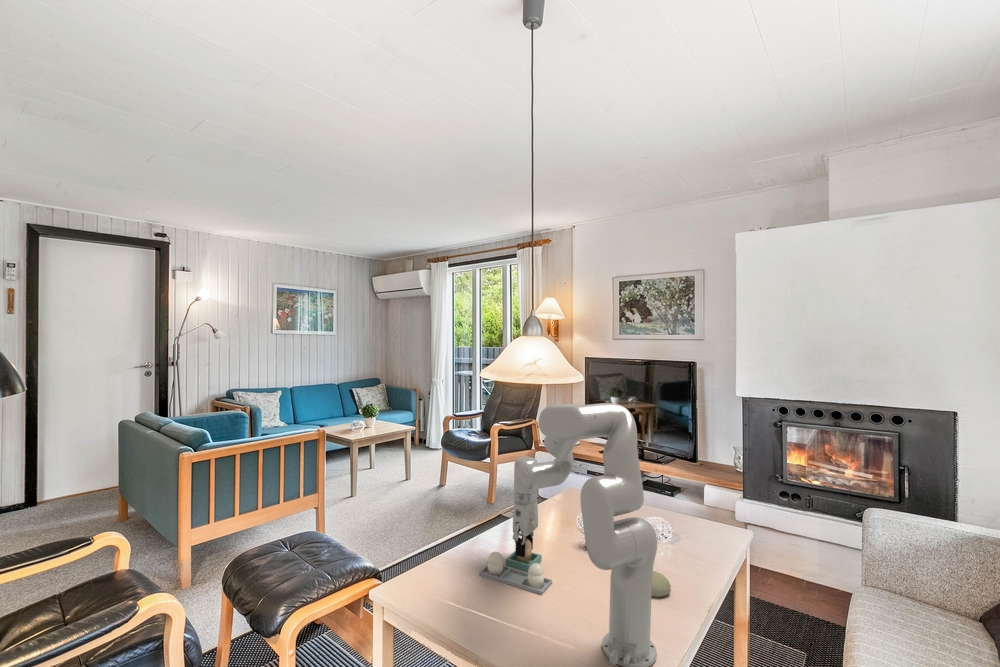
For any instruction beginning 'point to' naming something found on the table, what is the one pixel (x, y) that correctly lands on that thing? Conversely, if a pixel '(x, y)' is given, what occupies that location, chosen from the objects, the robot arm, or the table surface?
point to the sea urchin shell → (660, 585)
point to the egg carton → (515, 579)
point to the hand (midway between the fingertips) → (524, 551)
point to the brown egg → (526, 551)
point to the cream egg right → (536, 576)
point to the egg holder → (520, 565)
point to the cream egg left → (495, 564)
